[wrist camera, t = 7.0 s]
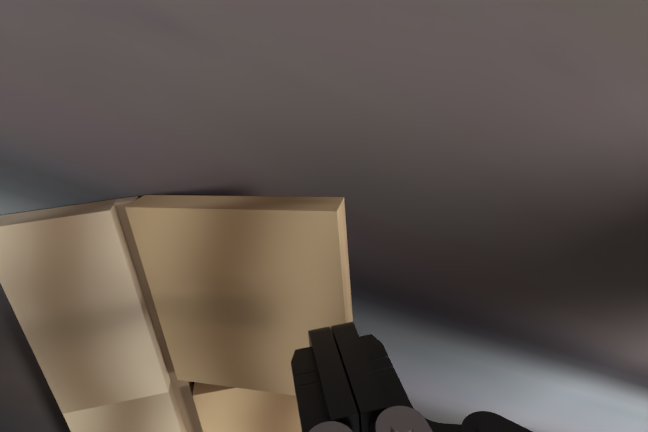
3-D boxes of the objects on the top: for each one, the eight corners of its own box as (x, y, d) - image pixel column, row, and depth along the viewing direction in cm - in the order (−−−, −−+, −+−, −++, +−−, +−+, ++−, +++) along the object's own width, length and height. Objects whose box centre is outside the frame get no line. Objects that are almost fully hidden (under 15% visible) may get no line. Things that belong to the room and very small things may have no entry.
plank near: (344, 197, 15) (336, 211, 14) (357, 380, 18) (351, 403, 17) (144, 194, 17) (124, 207, 16) (191, 360, 20) (177, 379, 19)
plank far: (356, 347, 22) (362, 364, 20) (364, 460, 25) (369, 479, 24) (195, 376, 21) (192, 395, 20) (226, 489, 24) (225, 510, 23)
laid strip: (138, 195, 17) (131, 207, 16) (222, 489, 24) (221, 511, 23) (-8, 216, 16) (-25, 230, 15) (126, 513, 23) (120, 536, 22)
